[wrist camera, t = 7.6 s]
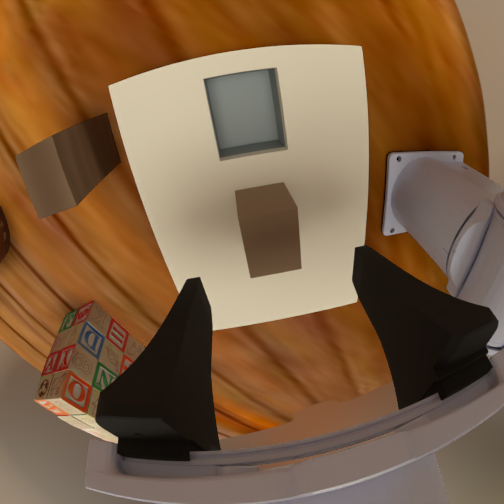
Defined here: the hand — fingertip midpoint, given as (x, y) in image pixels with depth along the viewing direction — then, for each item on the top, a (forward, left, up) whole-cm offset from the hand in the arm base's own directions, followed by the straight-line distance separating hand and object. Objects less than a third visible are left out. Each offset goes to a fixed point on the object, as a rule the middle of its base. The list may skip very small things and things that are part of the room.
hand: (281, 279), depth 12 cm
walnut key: (+11, -7, -10) cm, 16 cm away
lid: (0, 0, -7) cm, 7 cm away
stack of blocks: (+19, +19, -10) cm, 29 cm away
